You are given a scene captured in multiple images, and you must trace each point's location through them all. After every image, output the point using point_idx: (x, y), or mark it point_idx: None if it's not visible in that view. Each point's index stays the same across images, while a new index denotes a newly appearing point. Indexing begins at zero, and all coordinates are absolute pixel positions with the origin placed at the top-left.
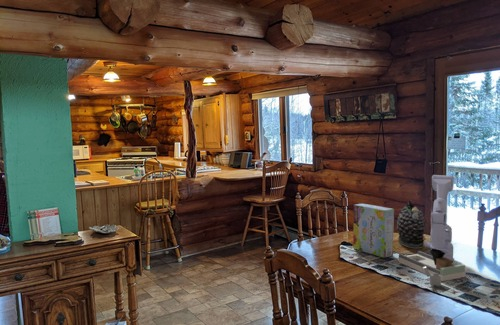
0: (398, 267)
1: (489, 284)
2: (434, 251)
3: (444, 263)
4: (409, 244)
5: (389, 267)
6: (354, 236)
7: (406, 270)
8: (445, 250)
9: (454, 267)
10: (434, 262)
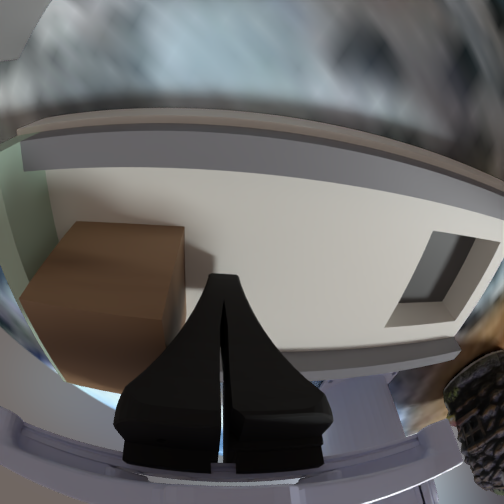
0: (469, 71)
1: (4, 319)
2: (189, 427)
3: (35, 282)
4: (488, 366)
5: (491, 28)
6: None
7: (402, 48)
8: (11, 459)
9: (19, 303)
10: (237, 288)
